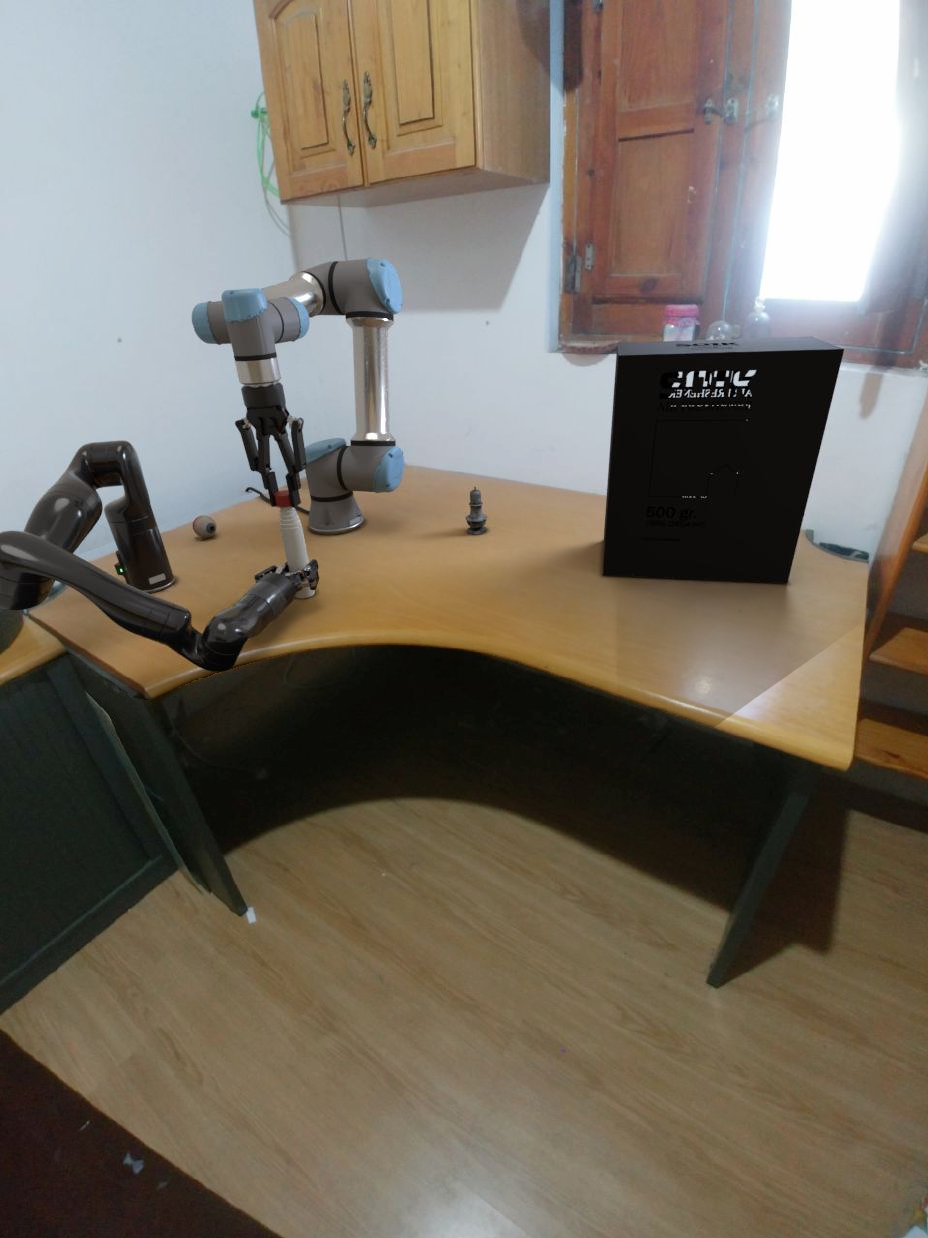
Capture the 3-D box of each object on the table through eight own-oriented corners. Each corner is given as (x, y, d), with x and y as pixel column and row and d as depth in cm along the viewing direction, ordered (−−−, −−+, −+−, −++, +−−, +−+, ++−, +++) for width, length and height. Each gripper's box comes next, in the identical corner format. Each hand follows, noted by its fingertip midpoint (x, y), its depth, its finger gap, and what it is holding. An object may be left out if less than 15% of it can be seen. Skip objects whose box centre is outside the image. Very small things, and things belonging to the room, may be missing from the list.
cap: (293, 499, 125) (291, 488, 124) (297, 505, 122) (295, 493, 121) (274, 503, 124) (272, 492, 123) (278, 508, 121) (275, 497, 120)
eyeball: (206, 542, 163) (200, 521, 160) (191, 538, 166) (185, 518, 163) (224, 534, 167) (218, 514, 164) (209, 531, 170) (203, 510, 167)
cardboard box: (766, 545, 143) (811, 336, 120) (787, 583, 126) (844, 348, 103) (603, 539, 150) (617, 342, 128) (602, 575, 133) (618, 355, 111)
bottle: (306, 599, 131) (285, 500, 120) (290, 596, 133) (268, 497, 121) (318, 591, 134) (300, 493, 123) (303, 588, 136) (283, 491, 125)
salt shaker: (485, 534, 157) (484, 490, 151) (463, 534, 158) (461, 489, 152) (489, 526, 162) (488, 482, 156) (468, 525, 163) (466, 482, 157)
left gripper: (239, 613, 122) (279, 576, 136) (304, 618, 119) (338, 579, 133) (230, 580, 118) (272, 545, 132) (297, 584, 115) (332, 548, 129)
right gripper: (311, 379, 113) (331, 499, 125) (231, 380, 116) (258, 497, 128) (293, 386, 107) (316, 512, 118) (209, 387, 110) (239, 510, 122)
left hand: (305, 562), depth 133 cm, fingers closed on bottle, 4 cm apart
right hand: (286, 504), depth 123 cm, fingers closed on cap, 4 cm apart
